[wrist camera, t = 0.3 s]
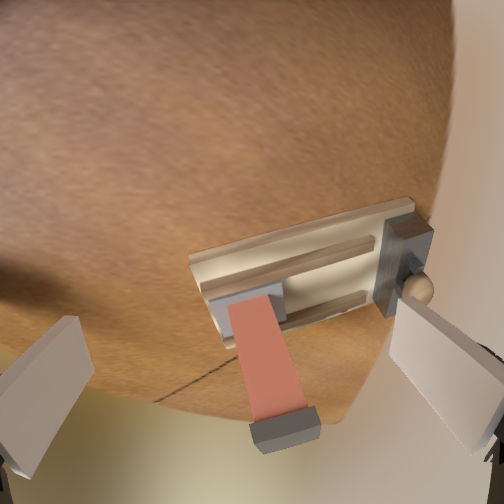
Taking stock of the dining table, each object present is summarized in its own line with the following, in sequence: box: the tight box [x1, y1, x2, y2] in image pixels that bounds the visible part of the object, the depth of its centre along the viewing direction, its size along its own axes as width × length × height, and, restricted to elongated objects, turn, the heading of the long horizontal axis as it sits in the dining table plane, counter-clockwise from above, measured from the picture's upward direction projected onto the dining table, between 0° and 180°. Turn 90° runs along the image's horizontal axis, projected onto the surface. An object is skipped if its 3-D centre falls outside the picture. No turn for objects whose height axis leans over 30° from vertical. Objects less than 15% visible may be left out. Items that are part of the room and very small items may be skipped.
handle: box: [208, 280, 321, 454], centre depth 25 cm, size 8×7×15 cm
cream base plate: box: [189, 196, 415, 349], centre depth 31 cm, size 14×23×3 cm, turn 100°
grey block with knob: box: [372, 211, 434, 319], centre depth 29 cm, size 12×4×5 cm, turn 10°
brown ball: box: [402, 274, 434, 305], centre depth 27 cm, size 4×4×4 cm
